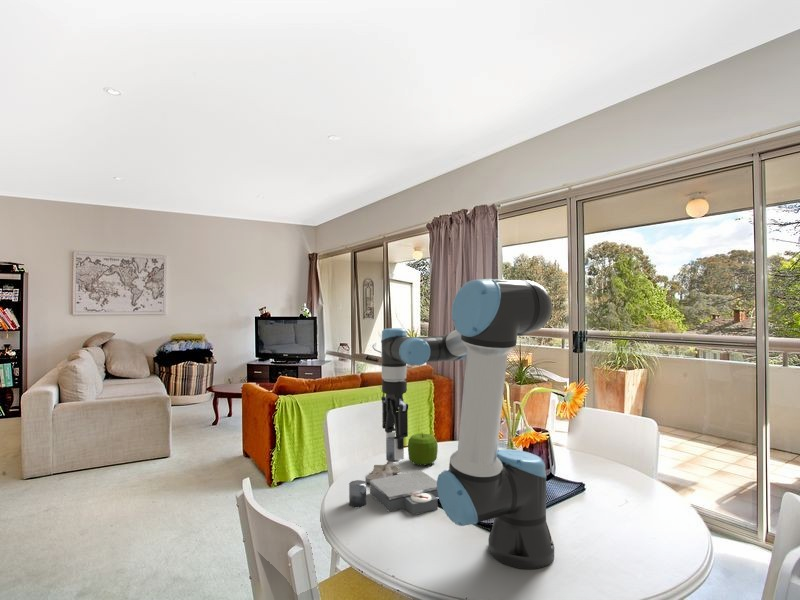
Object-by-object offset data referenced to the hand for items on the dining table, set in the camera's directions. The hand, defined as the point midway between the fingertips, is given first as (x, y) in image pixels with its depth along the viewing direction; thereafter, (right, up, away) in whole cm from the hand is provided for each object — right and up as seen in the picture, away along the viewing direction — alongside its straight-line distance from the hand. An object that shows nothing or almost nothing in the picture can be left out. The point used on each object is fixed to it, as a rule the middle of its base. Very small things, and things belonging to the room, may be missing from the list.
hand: (394, 456), depth 138 cm
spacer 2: (0, -1, 0) cm, 1 cm away
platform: (+3, -10, +2) cm, 10 cm away
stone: (-4, -14, +16) cm, 21 cm away
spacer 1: (-11, -13, -3) cm, 17 cm away
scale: (+5, -13, -1) cm, 14 cm away
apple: (+10, -13, +31) cm, 35 cm away
